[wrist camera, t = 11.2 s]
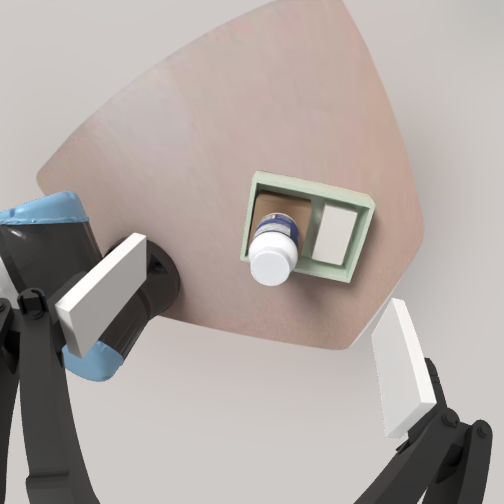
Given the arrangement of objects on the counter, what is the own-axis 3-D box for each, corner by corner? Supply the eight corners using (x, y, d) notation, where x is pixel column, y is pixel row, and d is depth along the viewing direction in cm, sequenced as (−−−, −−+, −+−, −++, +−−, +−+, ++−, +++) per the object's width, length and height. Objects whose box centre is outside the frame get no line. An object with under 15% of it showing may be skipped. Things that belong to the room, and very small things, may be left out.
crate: (245, 245, 47) (239, 259, 43) (257, 170, 41) (252, 177, 37) (346, 267, 45) (349, 282, 42) (368, 194, 40) (375, 204, 36)
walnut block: (253, 234, 45) (248, 249, 40) (261, 189, 42) (256, 199, 37) (300, 244, 44) (299, 260, 40) (310, 199, 41) (311, 211, 37)
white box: (311, 249, 44) (311, 259, 42) (324, 199, 41) (325, 205, 38) (339, 255, 44) (341, 265, 41) (354, 206, 40) (357, 213, 38)
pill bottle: (294, 254, 40) (290, 297, 31) (254, 245, 40) (239, 286, 32) (303, 216, 37) (302, 252, 29) (260, 207, 37) (246, 240, 29)
